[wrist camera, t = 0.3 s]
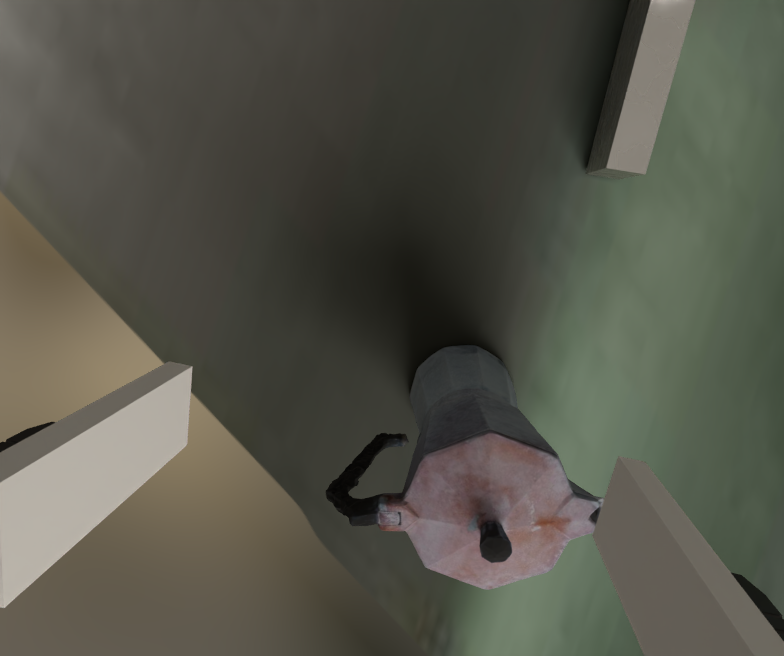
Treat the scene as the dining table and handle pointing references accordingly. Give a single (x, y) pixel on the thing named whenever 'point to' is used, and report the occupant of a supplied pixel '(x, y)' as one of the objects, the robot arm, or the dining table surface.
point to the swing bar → (639, 87)
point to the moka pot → (473, 478)
